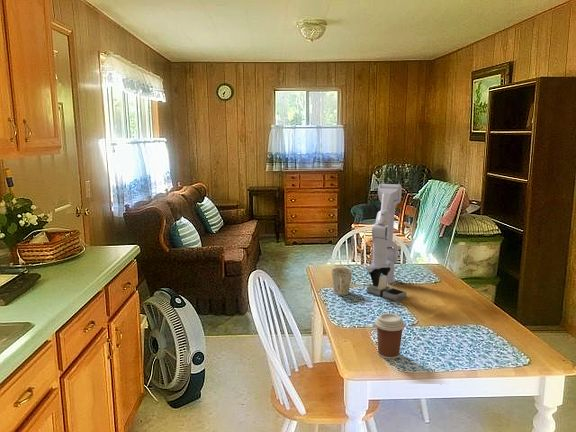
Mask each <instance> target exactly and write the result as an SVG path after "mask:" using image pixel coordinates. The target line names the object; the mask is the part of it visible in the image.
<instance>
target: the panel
mask: <svg viewBox="0 0 576 432" xmlns="http://www.w3.org/2000/svg"><path fill="white" fill-rule="evenodd" d="M365 294H368V295H371V296H375V297H378V298H381V299H384V300H387V301H391V302H394V303H398V302H399V301H402V300H405V299H406V298H408V296H407V295H408V294H407V291H405V290H401V289H398V288H394V287H391V286H387V285H386V288H384V289H382V290H378V289H375V288H373V284H371V285H369V286H367V287H366V292H365Z"/></svg>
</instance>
